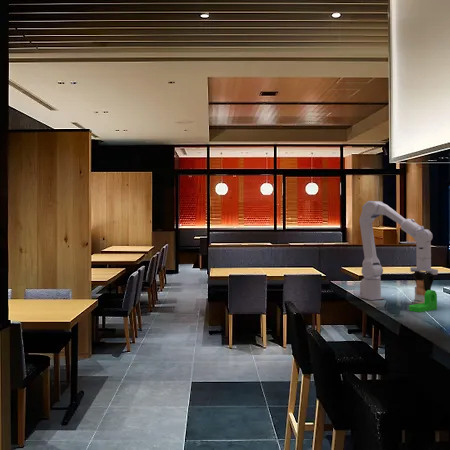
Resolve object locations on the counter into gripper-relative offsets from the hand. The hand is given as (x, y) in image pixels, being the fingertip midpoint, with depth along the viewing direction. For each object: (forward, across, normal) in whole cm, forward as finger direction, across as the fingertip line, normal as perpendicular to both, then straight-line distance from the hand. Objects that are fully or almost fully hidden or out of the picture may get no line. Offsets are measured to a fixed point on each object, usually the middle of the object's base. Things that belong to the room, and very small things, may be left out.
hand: (423, 290), depth 215 cm
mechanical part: (+7, +8, -8) cm, 14 cm away
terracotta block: (+2, 0, 0) cm, 2 cm away
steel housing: (+6, -7, +5) cm, 11 cm away
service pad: (+6, 0, 0) cm, 6 cm away
